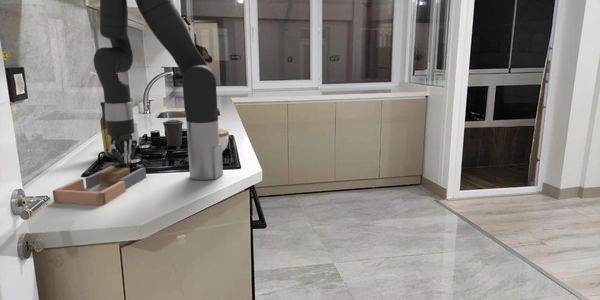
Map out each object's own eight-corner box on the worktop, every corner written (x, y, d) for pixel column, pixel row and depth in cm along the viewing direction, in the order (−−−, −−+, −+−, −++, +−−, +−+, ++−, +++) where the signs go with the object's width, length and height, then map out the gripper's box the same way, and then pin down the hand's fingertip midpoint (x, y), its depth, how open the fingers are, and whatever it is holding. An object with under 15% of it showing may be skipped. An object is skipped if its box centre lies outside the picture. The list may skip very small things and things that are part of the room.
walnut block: (131, 181, 124) (129, 168, 123) (119, 187, 118) (117, 174, 117) (112, 180, 125) (111, 167, 124) (99, 186, 119) (98, 172, 118)
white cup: (133, 149, 161) (130, 124, 158) (114, 148, 162) (112, 123, 160) (144, 145, 168) (142, 120, 166) (126, 144, 170) (124, 119, 168)
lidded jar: (226, 155, 153) (225, 130, 150) (197, 155, 153) (195, 129, 151) (231, 148, 163) (230, 124, 161) (204, 148, 163) (203, 124, 161)
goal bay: (125, 191, 114) (124, 181, 113) (102, 205, 104) (101, 193, 104) (80, 188, 116) (79, 178, 116) (54, 202, 106) (52, 190, 106)
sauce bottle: (127, 154, 154) (121, 100, 149) (114, 158, 148) (108, 102, 143) (113, 153, 156) (107, 99, 151) (100, 157, 150) (93, 102, 145)
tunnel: (146, 177, 127) (145, 167, 126) (124, 190, 115) (122, 179, 115) (111, 175, 129) (110, 166, 128) (86, 188, 117) (85, 177, 116)
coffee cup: (186, 146, 166) (184, 121, 164) (164, 147, 164) (162, 122, 161) (184, 142, 174) (182, 118, 171) (163, 143, 171) (161, 119, 169)
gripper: (117, 122, 115) (124, 182, 119) (143, 114, 128) (148, 169, 132) (93, 121, 116) (100, 180, 120) (121, 113, 129) (126, 167, 133)
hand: (125, 174), depth 126 cm, fingers closed
